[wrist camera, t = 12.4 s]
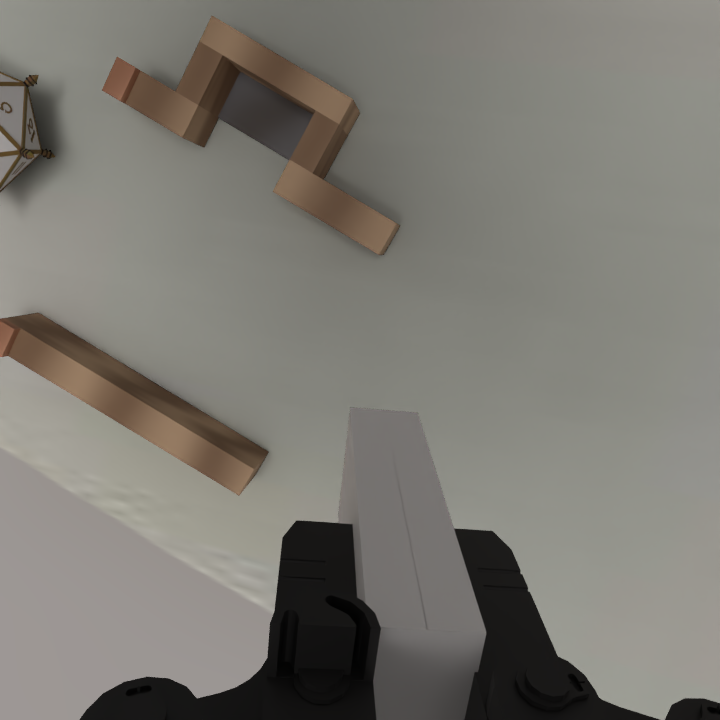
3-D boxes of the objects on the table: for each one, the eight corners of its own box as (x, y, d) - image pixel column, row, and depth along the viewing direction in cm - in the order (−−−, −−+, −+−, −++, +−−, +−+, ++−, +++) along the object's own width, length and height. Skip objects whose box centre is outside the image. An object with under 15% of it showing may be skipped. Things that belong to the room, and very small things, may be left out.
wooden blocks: (438, 159, 38) (439, 148, 34) (254, 476, 43) (236, 499, 39) (182, 6, 39) (152, -22, 35) (26, 338, 43) (-16, 347, 39)
